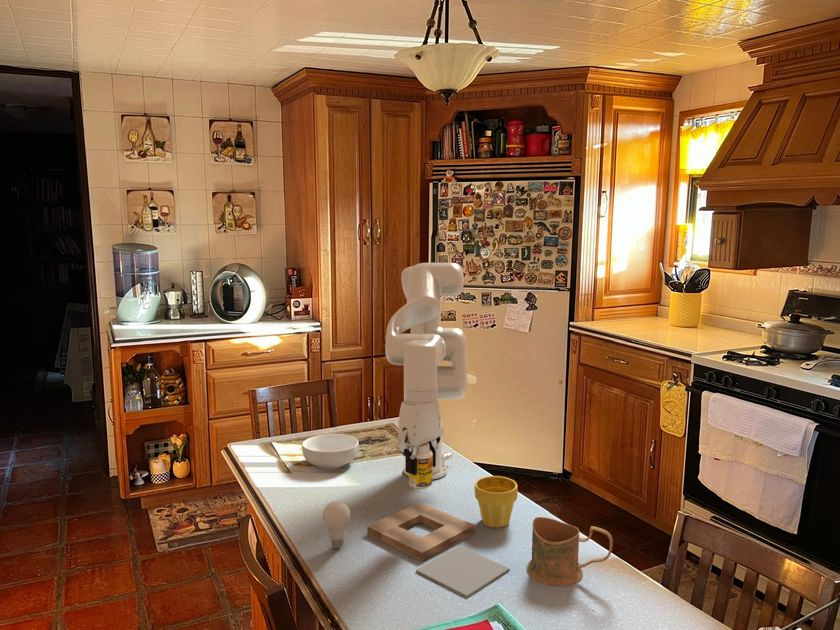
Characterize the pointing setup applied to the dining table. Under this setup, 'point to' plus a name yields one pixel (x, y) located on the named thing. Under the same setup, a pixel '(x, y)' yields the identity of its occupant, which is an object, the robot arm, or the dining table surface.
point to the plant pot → (496, 499)
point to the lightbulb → (336, 521)
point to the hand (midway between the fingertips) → (420, 468)
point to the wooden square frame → (414, 545)
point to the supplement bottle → (423, 468)
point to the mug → (558, 552)
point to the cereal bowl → (330, 450)
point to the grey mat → (463, 571)
